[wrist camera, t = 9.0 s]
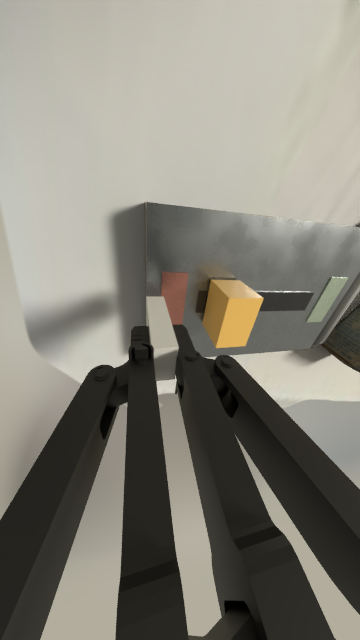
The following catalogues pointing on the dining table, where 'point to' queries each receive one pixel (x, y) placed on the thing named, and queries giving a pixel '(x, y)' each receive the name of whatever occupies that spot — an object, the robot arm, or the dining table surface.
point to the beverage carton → (346, 341)
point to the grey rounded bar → (338, 312)
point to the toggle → (230, 312)
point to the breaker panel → (249, 271)
